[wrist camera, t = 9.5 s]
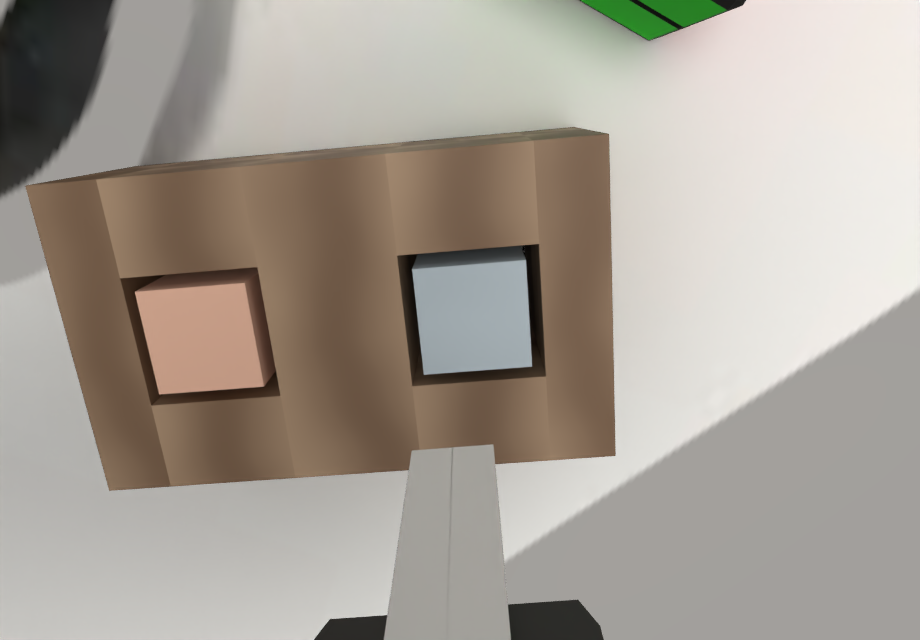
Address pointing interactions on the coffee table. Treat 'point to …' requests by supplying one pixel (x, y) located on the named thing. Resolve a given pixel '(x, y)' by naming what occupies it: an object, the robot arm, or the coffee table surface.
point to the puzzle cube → (661, 13)
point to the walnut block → (340, 304)
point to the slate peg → (473, 310)
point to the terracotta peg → (207, 331)
